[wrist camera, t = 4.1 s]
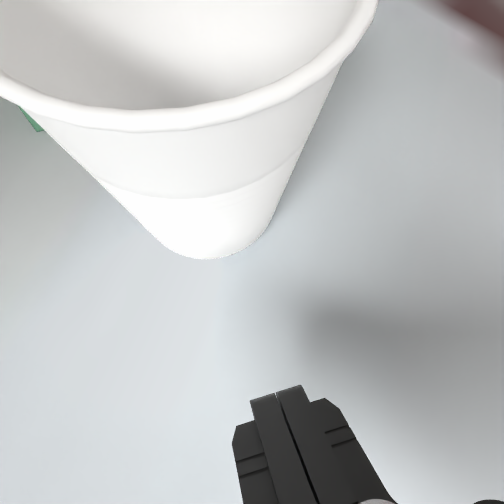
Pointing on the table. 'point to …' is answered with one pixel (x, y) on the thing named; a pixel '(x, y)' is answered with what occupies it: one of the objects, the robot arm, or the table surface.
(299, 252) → the table surface
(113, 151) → the cup
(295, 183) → the table surface
